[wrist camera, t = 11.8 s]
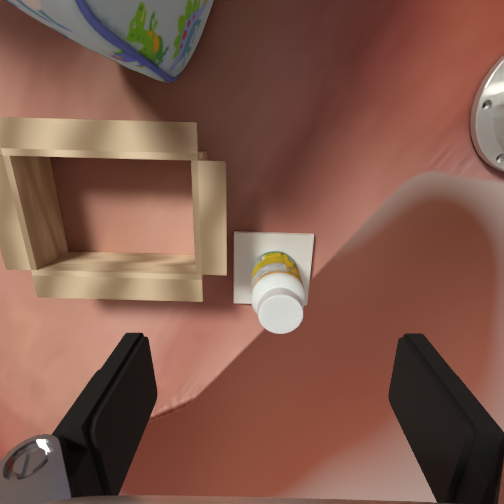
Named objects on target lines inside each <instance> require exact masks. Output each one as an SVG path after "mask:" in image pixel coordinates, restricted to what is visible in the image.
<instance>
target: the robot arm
mask: <svg viewBox="0 0 504 504" xmlns="http://www.w3.org/2000/svg"><path fill="white" fill-rule="evenodd" d="M482 105H483V107H482ZM470 129H471V137H472V141H473V144H474V147H475V149H476V150H477V152H478V154H479V156H480V157H481V158H482V159H483V160H484V161H485V162H486V163H487V164H488V165H490V166H491V167H493V168H495V169H497V170H500V171H502V172H504V55H503V56H502V57H501V58H500V59H499V60H498V61H497V62H496V64H495V65H494V66H493V67H492V68H491V69H490V71H489V72H488V74H487V75H486V77H485V78H484V80H483V81H482V83H481V85H480V87H479V89H478V92H477V94H476V96H475V99H474V103H473V106H472V110H471V118H470ZM156 400H157V386H156V381H155V375H154V369H153V363H152V357H151V351H150V345H149V340H148V337H144V335H143V333H126V334H125V335H124V336H123V338H122V339H121V341H120V342H119V344H118V345H117V346H116V348H115V349H114V351H113V352H112V354H111V355H110V356H109V358H108V359H107V361H106V362H105V364H104V365H103V366H102V368H101V369H100V370H98V371H97V372H96V373H95V374H94V376H93V377H92V378H91V380H90V381H89V383H88V384H87V385H86V387H85V388H84V390H83V391H82V393H81V394H80V395H79V397H78V398H77V400H76V401H75V402H74V404H73V405H72V407H71V408H70V409H69V411H68V412H67V414H66V415H65V417H64V418H63V419H62V421H61V422H60V424H59V425H58V426H57V428H56V429H55V431H54V432H53V433H52V435H49V434H43V435H37V436H34V437H32V438H29V439H27V440H25V441H23V442H22V443H20V444H18V445H17V446H16V447H14V448H13V449H12V450H11V451H9V452H8V453H7V455H6V456H5V457H4V458H3V459H2V460H1V462H0V504H504V432H503V431H502V429H501V428H500V427H499V426H498V425H497V423H496V422H495V421H494V420H493V418H492V417H491V416H490V415H489V414H488V412H487V411H486V410H485V409H484V407H483V406H482V405H481V404H480V403H479V402H478V400H477V399H476V398H475V396H474V395H473V394H472V393H471V391H470V390H469V389H468V388H467V387H466V385H465V384H464V383H463V382H462V380H461V379H460V378H459V377H458V376H457V375H456V374H455V373H454V372H453V370H452V369H451V368H450V367H449V365H448V364H447V363H446V362H445V361H444V359H443V358H442V357H441V356H440V354H439V353H438V352H437V351H436V349H435V348H434V347H433V346H432V345H431V343H430V342H429V341H428V340H427V338H426V337H425V336H424V335H423V334H404V336H403V338H399V340H398V345H397V350H396V356H395V361H394V367H393V372H392V378H391V383H390V389H389V401H390V404H391V407H392V409H393V411H394V413H395V415H396V417H397V419H398V421H399V423H400V425H401V427H402V430H403V432H404V434H405V436H406V438H407V440H408V442H409V444H410V446H411V448H412V451H413V453H414V455H415V457H416V459H417V461H418V463H419V465H420V467H421V469H422V472H423V473H424V476H425V478H426V480H427V482H428V484H429V486H430V488H431V490H432V493H433V494H434V497H435V499H436V501H437V503H431V502H410V501H377V500H344V499H343V500H341V499H305V498H304V499H303V498H263V497H260V498H259V497H214V496H213V497H212V496H157V495H154V496H153V495H151V496H150V495H149V496H148V495H147V496H145V495H144V496H143V495H140V496H118V494H119V492H120V490H121V487H122V485H123V482H124V480H125V477H126V475H127V472H128V470H129V467H130V465H131V462H132V460H133V457H134V455H135V452H136V450H137V447H138V445H139V442H140V440H141V437H142V435H143V433H144V430H145V428H146V425H147V423H148V420H149V418H150V415H151V413H152V410H153V408H154V405H155V403H156Z"/></svg>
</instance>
